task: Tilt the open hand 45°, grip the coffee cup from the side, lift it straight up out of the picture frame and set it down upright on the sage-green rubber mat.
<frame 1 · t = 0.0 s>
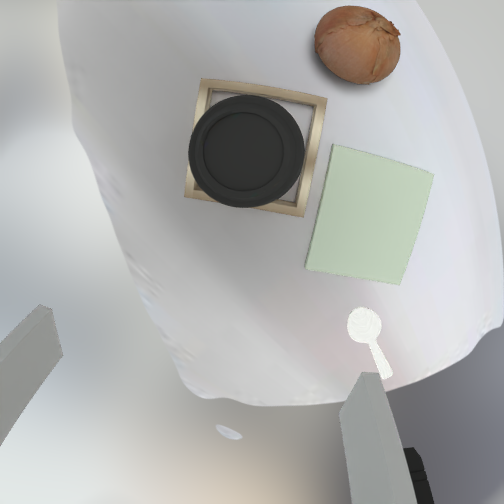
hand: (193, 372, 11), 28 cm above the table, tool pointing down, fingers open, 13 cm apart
spoon: (373, 345, 45), on the table
picture frame: (254, 145, 34), on the table
coffee cup: (254, 145, 34), resting in picture frame
mat: (370, 218, 37), on the table
onion: (347, 53, 29), on the table
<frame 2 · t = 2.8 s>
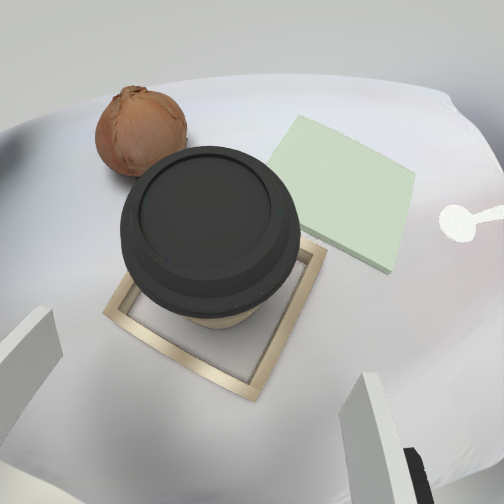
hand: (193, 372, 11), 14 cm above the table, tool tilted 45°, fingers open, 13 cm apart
spoon: (477, 219, 33), on the table
picture frame: (217, 290, 26), on the table
coffee cup: (217, 290, 27), resting in picture frame
mat: (340, 186, 31), on the table
onion: (149, 160, 31), on the table
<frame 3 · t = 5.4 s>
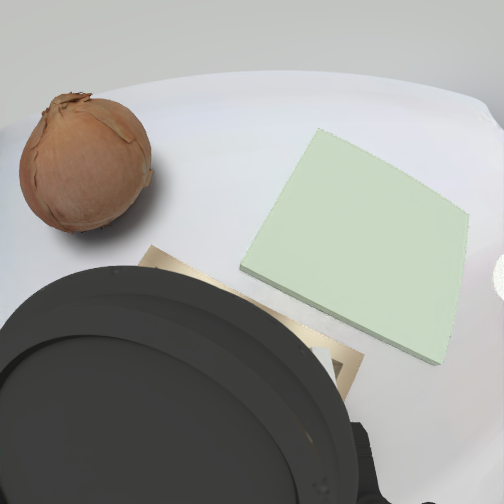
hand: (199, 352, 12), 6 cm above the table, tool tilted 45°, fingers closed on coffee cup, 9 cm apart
picture frame: (199, 407, 16), on the table
coffee cup: (199, 406, 17), resting in picture frame, touching gripper
mat: (378, 239, 22), on the table
onion: (104, 198, 21), on the table
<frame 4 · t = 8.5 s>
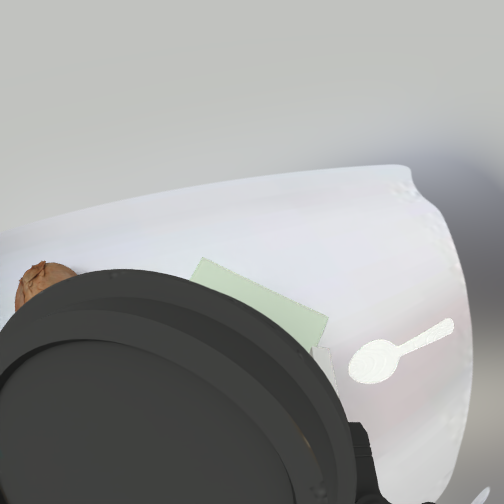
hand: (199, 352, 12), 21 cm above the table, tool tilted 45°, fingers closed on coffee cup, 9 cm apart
spoon: (405, 347, 34), on the table
coffee cup: (199, 407, 17), point 15 cm above the table, touching gripper
mat: (237, 344, 33), on the table
onion: (69, 312, 32), on the table
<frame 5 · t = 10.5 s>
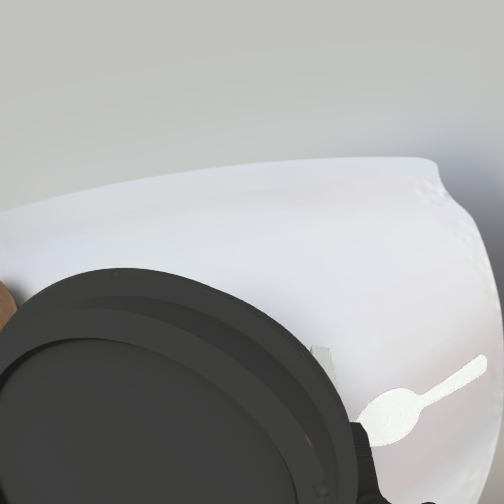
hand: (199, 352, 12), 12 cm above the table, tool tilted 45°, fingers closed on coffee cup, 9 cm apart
spoon: (429, 395, 23), on the table
coffee cup: (199, 407, 17), point 6 cm above the table, touching gripper
onion: (4, 331, 22), on the table
when the fingers open (8 cm above the table, at t = 11.7 s): coffee cup drops 1 cm, resting on mat.
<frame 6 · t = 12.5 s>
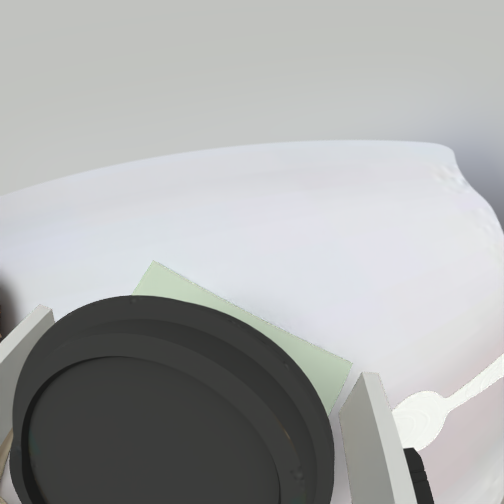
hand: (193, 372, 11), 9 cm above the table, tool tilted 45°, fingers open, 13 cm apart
spoon: (454, 397, 20), on the table
picture frame: (57, 502, 14), on the table
coffee cup: (204, 406, 18), point 1 cm above the table, touching mat
mat: (203, 402, 19), on the table
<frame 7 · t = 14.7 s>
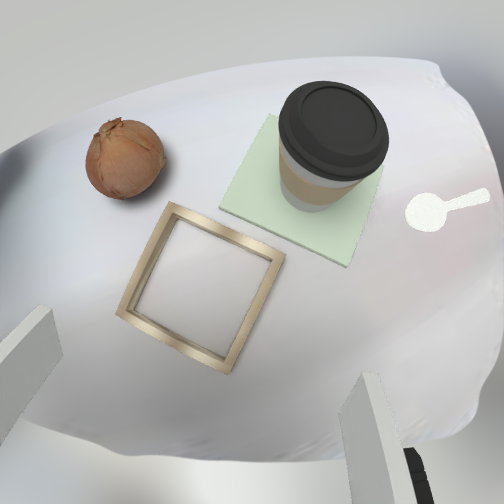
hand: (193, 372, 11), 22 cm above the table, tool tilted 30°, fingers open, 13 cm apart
spoon: (451, 205, 35), on the table
picture frame: (200, 287, 34), on the table
coffee cup: (308, 184, 34), point 1 cm above the table, touching mat
mat: (306, 185, 35), on the table
onion: (137, 173, 36), on the table
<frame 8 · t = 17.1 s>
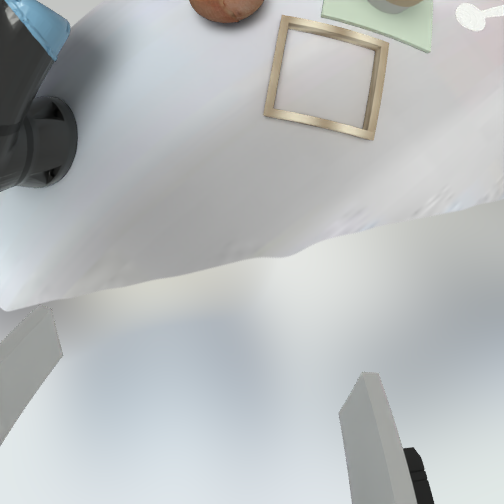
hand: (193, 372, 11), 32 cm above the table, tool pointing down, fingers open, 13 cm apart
spoon: (485, 14, 25), on the table
picture frame: (326, 77, 33), on the table
onion: (231, 4, 30), on the table
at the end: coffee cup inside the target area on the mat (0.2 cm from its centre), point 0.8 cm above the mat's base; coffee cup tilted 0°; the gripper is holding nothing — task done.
